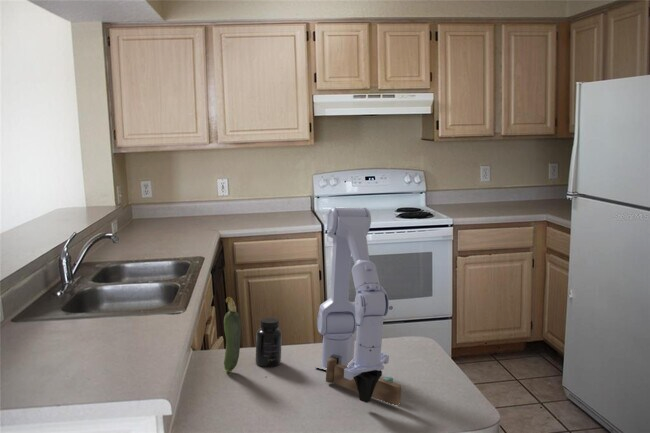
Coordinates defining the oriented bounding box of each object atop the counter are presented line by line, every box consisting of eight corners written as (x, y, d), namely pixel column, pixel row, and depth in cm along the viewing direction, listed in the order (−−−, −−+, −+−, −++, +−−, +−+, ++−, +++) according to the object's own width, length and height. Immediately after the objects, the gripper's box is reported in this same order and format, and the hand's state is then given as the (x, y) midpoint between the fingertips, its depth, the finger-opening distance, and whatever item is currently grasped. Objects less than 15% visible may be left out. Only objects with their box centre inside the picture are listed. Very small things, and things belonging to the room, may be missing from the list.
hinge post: (331, 378, 149) (333, 354, 148) (340, 380, 148) (341, 356, 147) (329, 380, 148) (330, 356, 147) (337, 383, 146) (338, 358, 146)
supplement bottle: (252, 359, 159) (254, 316, 157) (276, 357, 161) (278, 315, 159) (258, 369, 152) (260, 324, 151) (283, 367, 155) (285, 323, 153)
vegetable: (240, 370, 151) (243, 294, 148) (238, 376, 147) (241, 299, 144) (223, 369, 151) (225, 294, 148) (220, 376, 147) (223, 298, 144)
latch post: (385, 396, 140) (386, 376, 140) (393, 398, 139) (394, 378, 139) (381, 399, 139) (383, 379, 138) (389, 401, 138) (391, 381, 137)
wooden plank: (323, 380, 145) (325, 359, 145) (329, 378, 147) (330, 357, 146) (395, 407, 133) (397, 384, 132) (401, 404, 135) (402, 381, 134)
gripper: (364, 356, 123) (359, 417, 125) (401, 340, 134) (397, 396, 136) (337, 347, 127) (334, 406, 129) (376, 332, 138) (372, 387, 140)
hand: (364, 400), depth 133 cm, fingers closed
